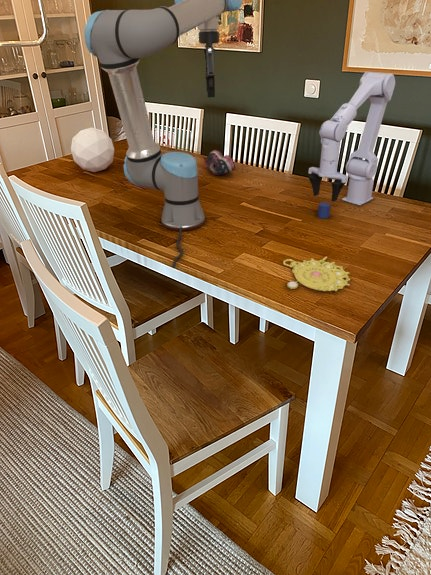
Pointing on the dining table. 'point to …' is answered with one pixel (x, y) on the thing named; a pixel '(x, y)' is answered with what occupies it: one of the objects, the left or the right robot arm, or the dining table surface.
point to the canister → (324, 210)
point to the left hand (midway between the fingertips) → (210, 94)
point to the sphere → (92, 149)
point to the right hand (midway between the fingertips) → (325, 197)
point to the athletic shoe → (219, 163)
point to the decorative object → (318, 275)
